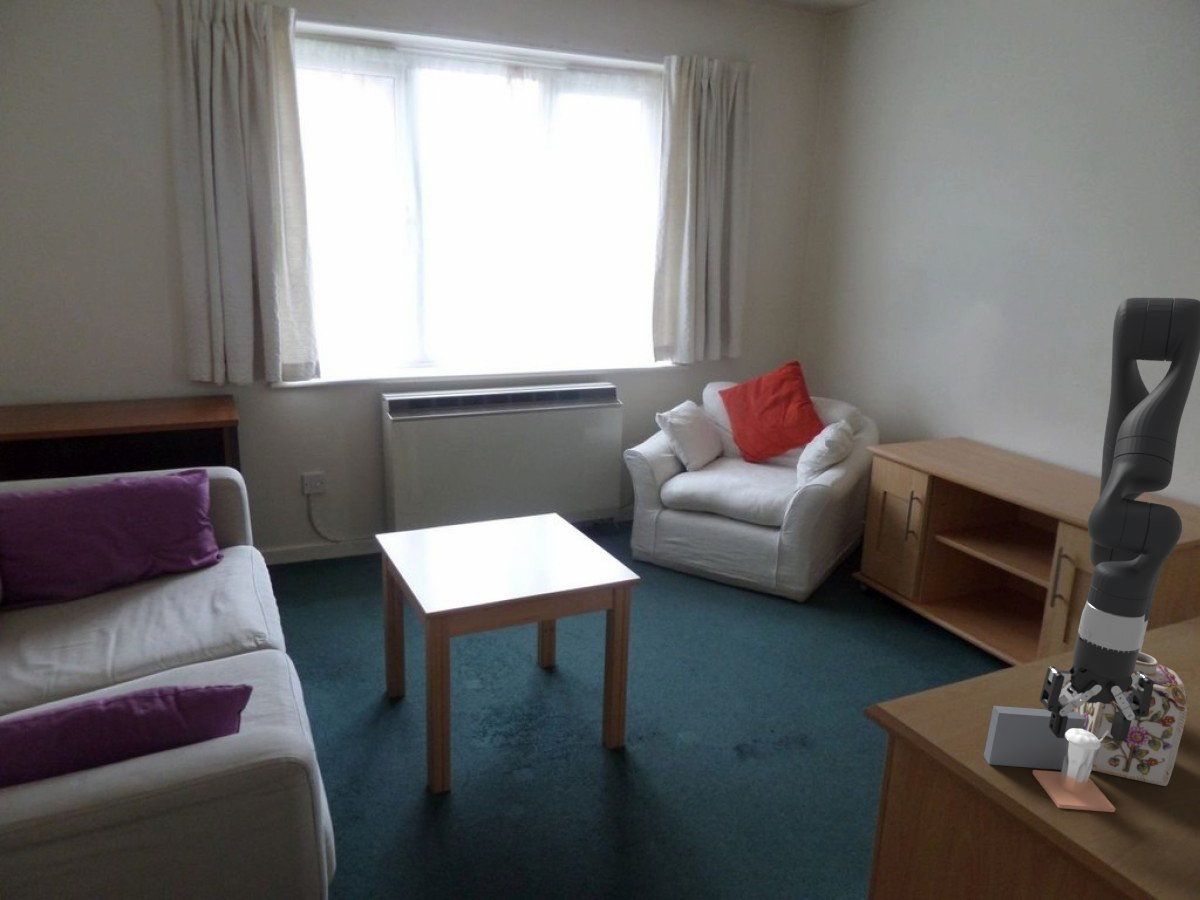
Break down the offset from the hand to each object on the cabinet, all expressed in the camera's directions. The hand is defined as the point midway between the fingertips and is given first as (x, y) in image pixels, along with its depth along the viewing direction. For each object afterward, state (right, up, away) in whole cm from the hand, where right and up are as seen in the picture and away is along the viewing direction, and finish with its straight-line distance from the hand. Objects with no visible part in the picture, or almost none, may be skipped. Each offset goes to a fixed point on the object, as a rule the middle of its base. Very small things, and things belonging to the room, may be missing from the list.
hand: (1086, 736), depth 120 cm
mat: (-1, -9, +2) cm, 9 cm away
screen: (-4, -7, +9) cm, 12 cm away
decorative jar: (+12, -8, +12) cm, 18 cm away
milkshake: (0, -9, +2) cm, 9 cm away
